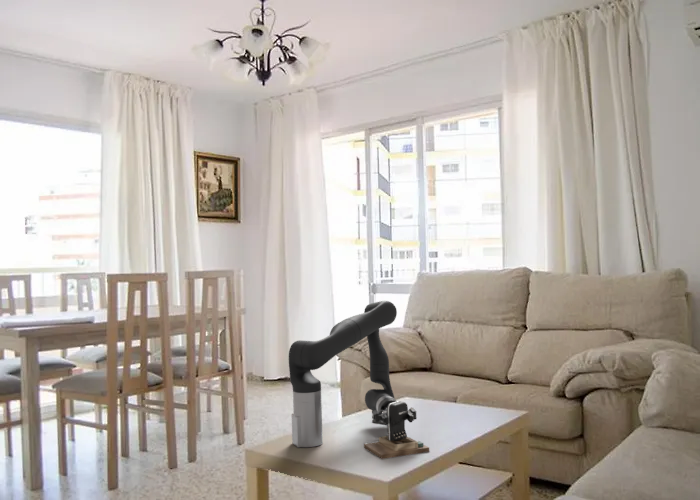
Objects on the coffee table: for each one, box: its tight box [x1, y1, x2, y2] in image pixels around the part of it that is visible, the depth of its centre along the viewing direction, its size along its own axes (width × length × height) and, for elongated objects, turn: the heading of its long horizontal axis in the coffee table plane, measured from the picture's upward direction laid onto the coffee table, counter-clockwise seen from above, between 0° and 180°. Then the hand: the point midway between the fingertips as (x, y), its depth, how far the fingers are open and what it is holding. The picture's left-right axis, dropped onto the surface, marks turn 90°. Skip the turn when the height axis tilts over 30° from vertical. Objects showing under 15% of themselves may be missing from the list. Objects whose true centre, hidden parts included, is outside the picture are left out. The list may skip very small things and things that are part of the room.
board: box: [363, 435, 430, 460], centre depth 193 cm, size 16×13×3 cm
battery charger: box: [386, 400, 409, 441], centre depth 195 cm, size 7×4×11 cm, turn 136°
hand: (399, 419), depth 193 cm, fingers closed on battery charger, 7 cm apart
